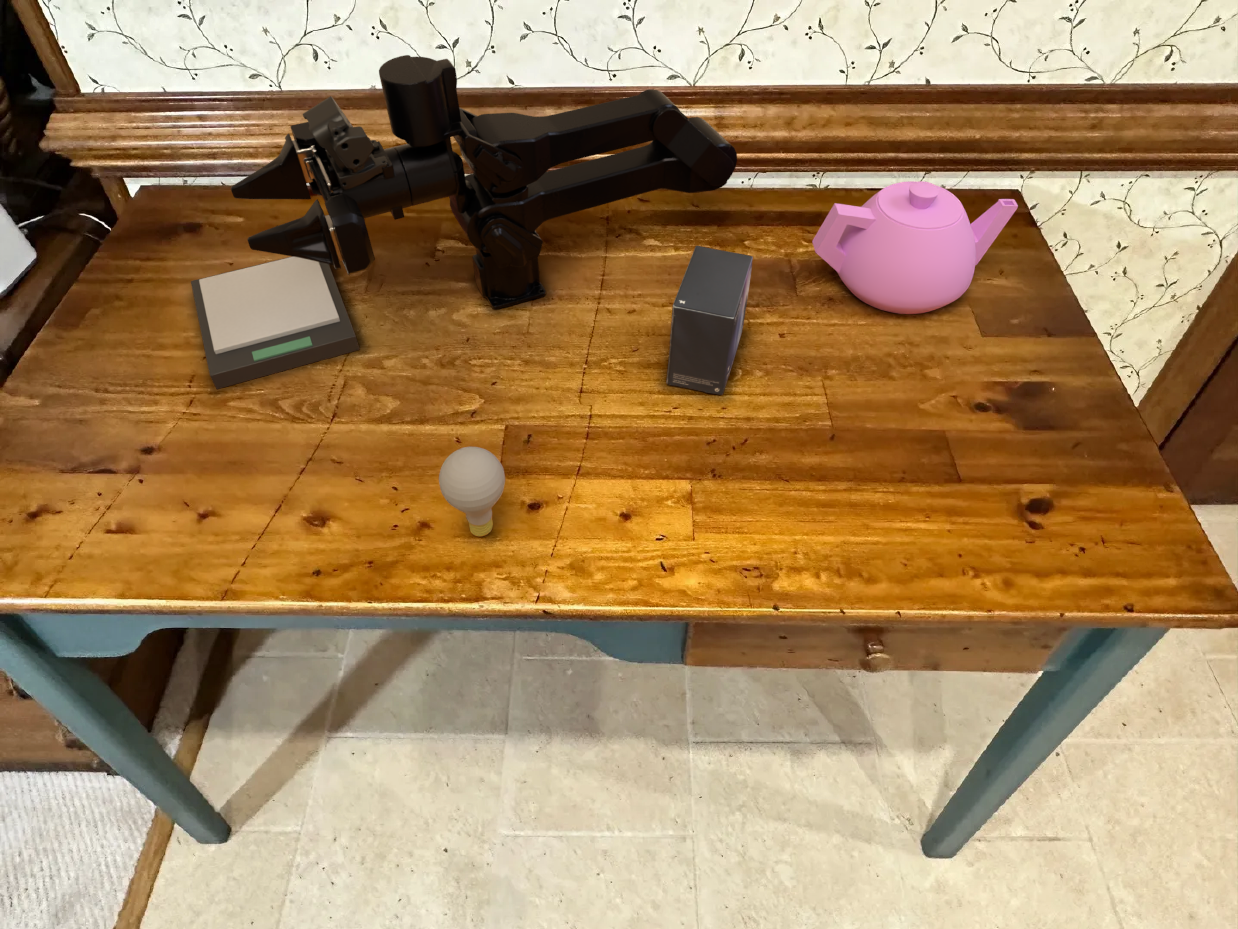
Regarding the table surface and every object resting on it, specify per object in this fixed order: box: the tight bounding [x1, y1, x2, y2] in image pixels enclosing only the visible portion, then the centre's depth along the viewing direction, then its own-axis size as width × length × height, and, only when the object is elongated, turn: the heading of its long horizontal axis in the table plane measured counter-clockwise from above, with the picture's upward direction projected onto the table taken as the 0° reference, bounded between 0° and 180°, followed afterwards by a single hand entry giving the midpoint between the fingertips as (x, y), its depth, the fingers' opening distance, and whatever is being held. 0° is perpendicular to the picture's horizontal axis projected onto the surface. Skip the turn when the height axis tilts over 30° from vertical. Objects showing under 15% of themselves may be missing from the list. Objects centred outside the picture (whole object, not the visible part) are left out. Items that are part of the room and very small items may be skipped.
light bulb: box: [438, 446, 506, 537], centre depth 75 cm, size 6×6×10 cm
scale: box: [190, 256, 360, 390], centre depth 97 cm, size 15×17×3 cm
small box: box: [665, 245, 754, 396], centre depth 90 cm, size 11×6×10 cm, turn 164°
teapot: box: [811, 180, 1019, 315], centre depth 98 cm, size 22×16×12 cm
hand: (240, 217), depth 82 cm, fingers open, 9 cm apart
